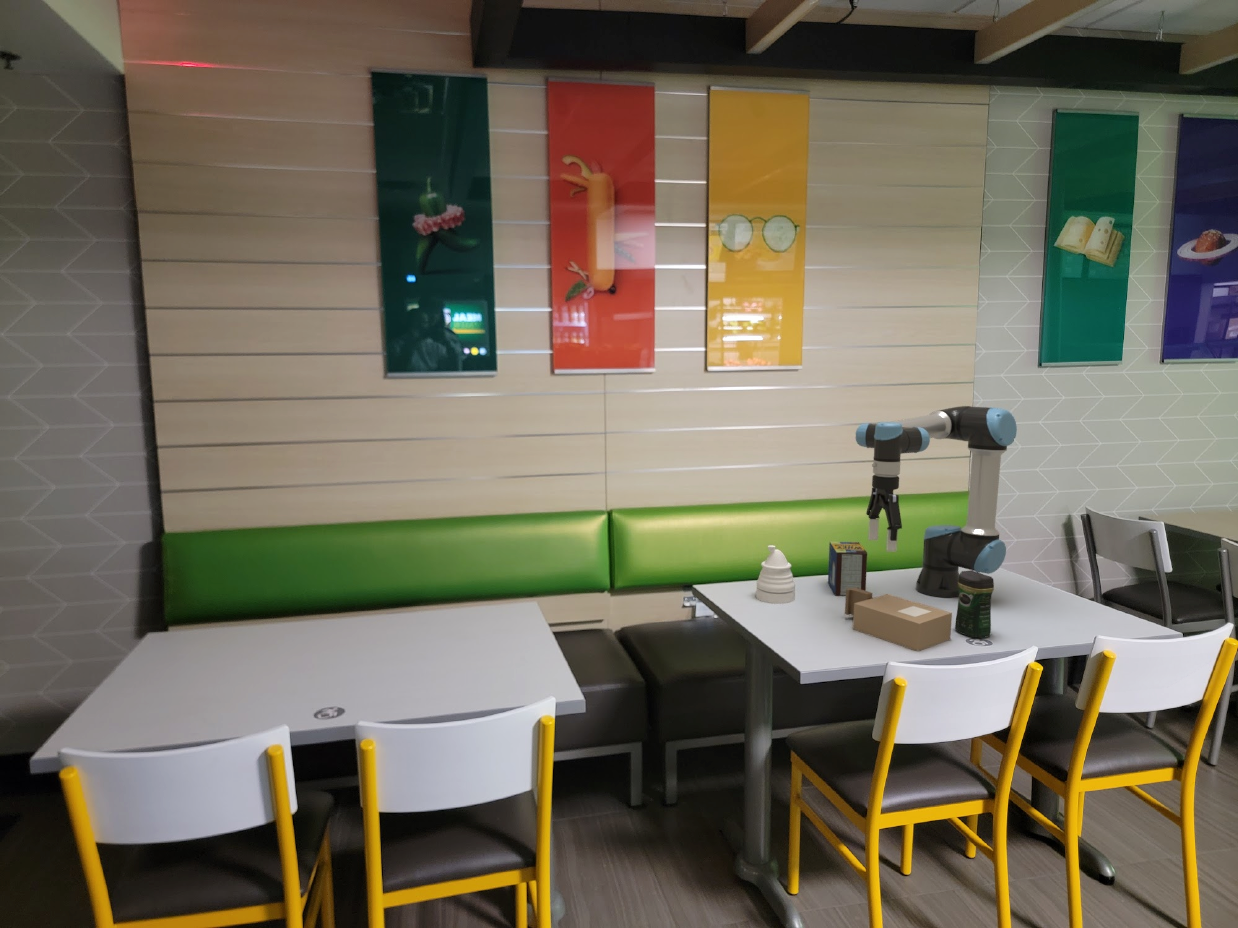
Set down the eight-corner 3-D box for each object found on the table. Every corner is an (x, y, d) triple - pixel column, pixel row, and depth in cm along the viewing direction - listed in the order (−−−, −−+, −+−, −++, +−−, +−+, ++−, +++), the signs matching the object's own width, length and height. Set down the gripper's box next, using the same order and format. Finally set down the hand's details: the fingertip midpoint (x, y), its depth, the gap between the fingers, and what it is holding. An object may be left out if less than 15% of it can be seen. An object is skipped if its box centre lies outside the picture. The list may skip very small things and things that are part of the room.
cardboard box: (885, 618, 253) (886, 593, 251) (950, 639, 235) (952, 612, 234) (852, 628, 243) (854, 603, 242) (917, 651, 226) (919, 623, 224)
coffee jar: (995, 637, 237) (1000, 575, 234) (974, 640, 234) (978, 578, 232) (970, 626, 246) (974, 567, 243) (949, 629, 243) (953, 569, 241)
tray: (863, 610, 258) (865, 584, 256) (944, 635, 235) (946, 607, 234) (835, 618, 250) (836, 591, 248) (916, 645, 227) (917, 616, 226)
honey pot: (765, 604, 266) (767, 551, 263) (750, 593, 278) (751, 542, 276) (801, 602, 269) (803, 549, 266) (784, 590, 281) (786, 540, 279)
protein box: (857, 583, 290) (859, 541, 288) (865, 596, 275) (867, 552, 273) (827, 582, 291) (829, 540, 289) (834, 595, 276) (836, 551, 274)
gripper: (857, 468, 250) (854, 535, 253) (891, 481, 225) (886, 556, 228) (881, 468, 250) (877, 535, 253) (917, 481, 226) (912, 555, 229)
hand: (881, 545), depth 241 cm, fingers open, 13 cm apart
